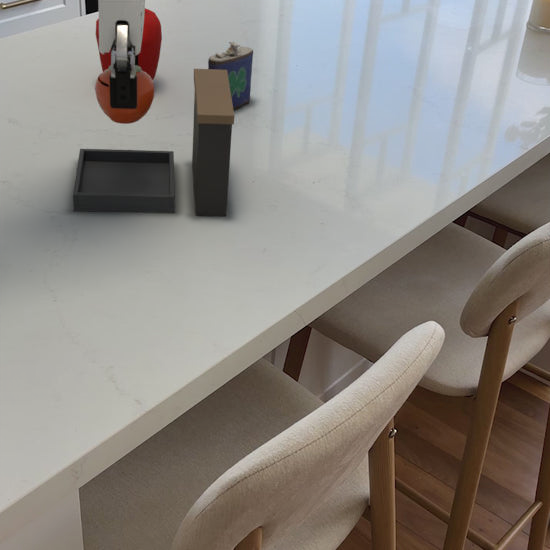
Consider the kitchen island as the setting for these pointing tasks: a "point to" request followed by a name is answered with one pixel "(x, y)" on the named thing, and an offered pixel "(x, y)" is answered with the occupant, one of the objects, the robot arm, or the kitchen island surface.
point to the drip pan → (124, 181)
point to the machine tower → (211, 141)
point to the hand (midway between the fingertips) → (124, 93)
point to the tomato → (143, 97)
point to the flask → (236, 72)
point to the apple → (142, 45)
